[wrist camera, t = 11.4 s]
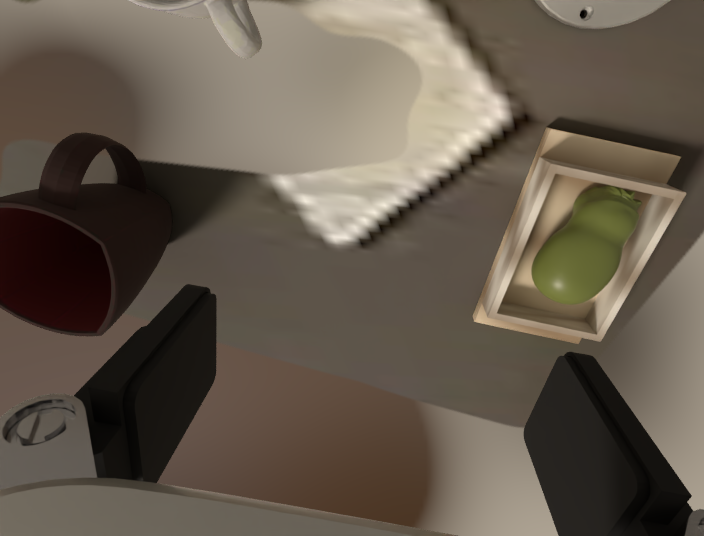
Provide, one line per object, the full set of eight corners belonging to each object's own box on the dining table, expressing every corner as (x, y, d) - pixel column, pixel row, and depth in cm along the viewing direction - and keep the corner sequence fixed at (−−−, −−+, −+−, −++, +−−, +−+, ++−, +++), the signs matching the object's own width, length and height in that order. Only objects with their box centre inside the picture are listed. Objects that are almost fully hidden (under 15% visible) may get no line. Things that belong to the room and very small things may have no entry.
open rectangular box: (546, 127, 32) (563, 133, 29) (673, 154, 32) (703, 163, 29) (472, 316, 40) (479, 337, 37) (574, 337, 40) (589, 360, 37)
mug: (88, 245, 40) (-21, 310, 30) (92, 102, 34) (-44, 118, 24) (186, 277, 41) (113, 351, 30) (207, 142, 35) (124, 175, 24)
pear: (533, 295, 31) (615, 175, 28) (509, 273, 36) (577, 170, 33) (593, 326, 32) (680, 211, 29) (561, 300, 37) (632, 201, 34)
